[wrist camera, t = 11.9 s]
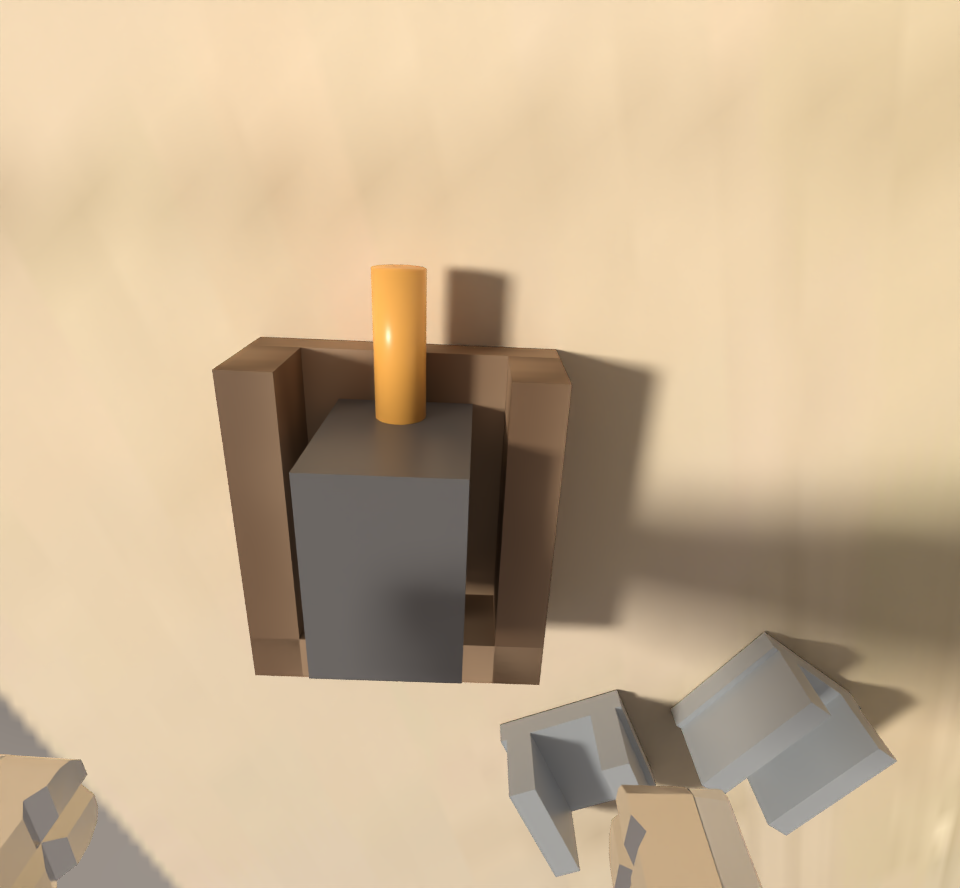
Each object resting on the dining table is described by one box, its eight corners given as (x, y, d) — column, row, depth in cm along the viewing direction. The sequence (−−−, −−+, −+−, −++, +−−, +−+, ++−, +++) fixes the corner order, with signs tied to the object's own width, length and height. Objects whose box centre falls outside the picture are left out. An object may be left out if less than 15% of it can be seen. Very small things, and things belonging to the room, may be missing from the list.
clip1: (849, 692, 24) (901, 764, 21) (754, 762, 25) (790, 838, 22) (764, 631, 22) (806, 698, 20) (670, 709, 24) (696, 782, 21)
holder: (555, 349, 18) (571, 384, 15) (530, 612, 22) (539, 684, 19) (260, 337, 18) (212, 369, 15) (288, 603, 22) (255, 674, 19)
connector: (477, 265, 16) (476, 297, 12) (466, 570, 20) (462, 683, 16) (331, 259, 16) (271, 288, 12) (348, 566, 20) (309, 678, 16)
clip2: (616, 690, 24) (636, 761, 21) (651, 771, 25) (673, 846, 23) (500, 724, 24) (502, 798, 21) (542, 801, 26) (549, 878, 23)
